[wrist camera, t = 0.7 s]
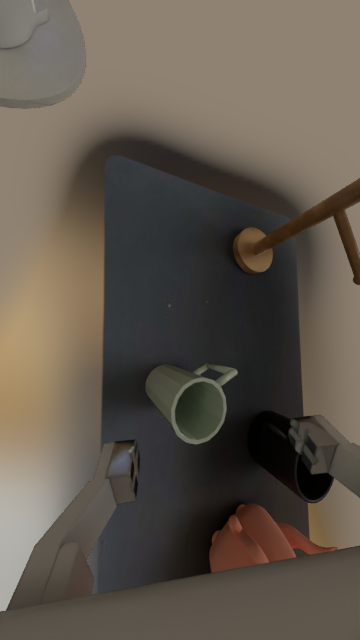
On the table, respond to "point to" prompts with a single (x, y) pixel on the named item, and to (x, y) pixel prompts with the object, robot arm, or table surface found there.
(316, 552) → the teapot
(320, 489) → the mug
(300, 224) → the mug stand
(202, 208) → the table surface
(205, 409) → the cup
